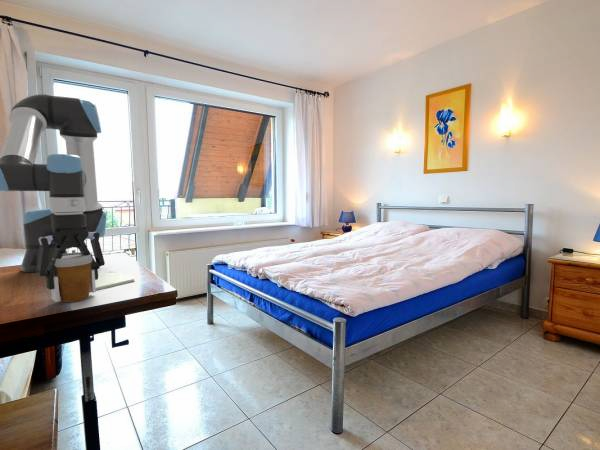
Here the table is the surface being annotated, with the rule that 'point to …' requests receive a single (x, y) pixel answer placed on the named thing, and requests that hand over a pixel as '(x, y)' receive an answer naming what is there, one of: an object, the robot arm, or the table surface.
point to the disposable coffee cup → (73, 276)
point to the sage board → (111, 280)
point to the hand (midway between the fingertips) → (74, 295)
